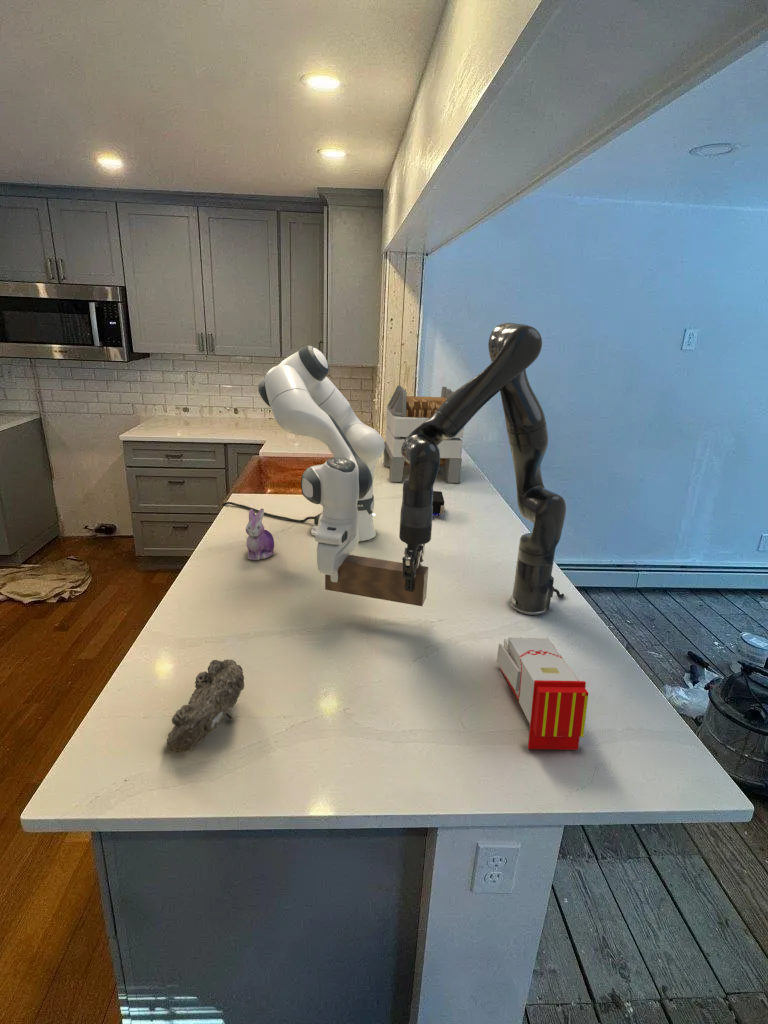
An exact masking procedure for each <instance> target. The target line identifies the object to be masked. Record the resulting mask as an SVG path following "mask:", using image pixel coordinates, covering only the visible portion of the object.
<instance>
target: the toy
mask: <svg viewBox="0 0 768 1024" xmlns="http://www.w3.org/2000/svg"><path fill="white" fill-rule="evenodd" d="M496 664H497V665H498V666H499V669H500V672H501V673H502V675H503V677H504V678H505V680H506V682H507V683H508V685H509V687H510V689H511V690H512V692H513V694H514V696H515V698H516V700H517V701H518V704H519V705H520V707H521V709H522V711H523V713H524V715H525V718H526V719H527V722H528V723H529V731H528V732H529V734H528V742H527V743H528V744H527V748H528V750H568V751H569V750H571V751H572V750H573V751H574V750H576V751H578V750H579V745H580V738H584V735H585V727H586V719H587V709H588V703H589V702H588V701H589V692H588V690H587V689H586V686H587V682H586V681H585V680H580V679H579V677H578V676H577V675H576V673H575V672H574V670H572V668H571V667H570V666H569V664H568V663H567V662H566V660H565V659H564V657H563V656H562V655H561V653H560V651H558V649H557V648H556V646H555V644H554V643H552V641H551V640H550V638H549V637H508V638H504V639H503V644H502V643H498V648H497V654H496Z"/></svg>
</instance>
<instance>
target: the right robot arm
mask: <svg viewBox="0 0 768 1024" xmlns="http://www.w3.org/2000/svg"><path fill="white" fill-rule="evenodd" d="M487 345H488V355H489V359H490V361H491V362H490V364H488V366H487V367H486V368H484V369H483V370H482V371H481V372H480V373H478V374H476V376H474V377H473V378H471V379H470V380H468V381H467V382H465V383H464V384H463V385H461V386H459V388H457V389H456V390H454V393H452V394H451V395H450V396H449V397H448V398H447V399H446V401H445V402H444V403H443V404H442V405H441V406H440V407H439V408H438V410H437V411H436V412H435V413H434V414H433V416H432V417H431V418H429V419H428V420H426V421H425V422H423V423H422V424H421V425H420V426H419V427H417V428H416V429H415V430H414V431H412V432H411V433H410V434H409V435H408V436H407V438H406V439H405V440H404V442H403V444H402V447H401V454H402V457H403V458H404V460H405V461H406V462H408V463H409V464H410V466H409V473H408V477H407V478H405V479H404V481H403V483H402V484H403V485H402V496H401V497H402V500H401V507H400V517H399V535H398V537H399V539H400V541H401V542H402V543H405V544H406V547H405V548H404V552H403V554H404V556H402V563H403V578H406V579H405V590H406V591H409V592H413V591H414V589H415V577H416V569H417V568H419V565H420V566H423V565H422V563H424V555H425V545H426V544H429V543H430V542H431V540H432V529H433V518H434V517H433V516H434V515H433V509H432V502H433V491H434V485H435V483H436V480H437V476H438V472H439V465H440V452H439V448H438V446H437V445H439V444H440V443H441V442H442V441H443V440H447V439H452V438H454V437H455V436H456V435H457V434H458V433H459V431H461V430H462V429H463V427H464V428H465V426H466V425H467V424H468V423H469V422H470V421H471V420H472V419H473V418H474V416H475V415H476V414H477V413H478V412H479V411H480V410H481V409H482V408H483V407H484V406H485V405H486V404H487V403H488V402H490V400H491V399H493V398H494V397H495V396H496V395H497V394H498V393H499V394H500V399H501V404H502V410H503V415H504V420H505V425H506V426H505V427H506V433H507V438H508V443H509V447H510V452H511V457H512V463H513V469H514V474H515V484H516V485H515V486H516V500H517V507H518V511H519V513H520V515H521V516H522V517H523V519H525V520H527V521H528V522H531V523H532V524H533V526H532V531H531V532H527V533H524V534H522V535H521V536H520V538H519V543H518V552H517V560H516V566H515V574H514V580H513V581H514V582H513V588H512V595H510V606H511V607H512V609H513V610H515V611H516V612H519V613H521V614H524V615H530V616H538V615H542V614H544V613H546V612H547V611H549V610H550V608H551V607H550V606H551V599H552V598H553V596H554V593H555V594H556V596H557V598H564V597H565V594H564V593H561V592H560V591H559V589H557V588H556V587H555V586H554V583H555V582H554V581H555V577H554V576H553V575H552V574H553V568H554V560H555V554H556V549H557V546H558V545H559V542H560V541H561V538H562V533H563V528H564V524H565V519H566V513H567V503H566V500H565V498H564V497H563V496H561V495H560V494H558V493H557V492H556V493H555V492H554V491H551V490H549V489H547V488H546V487H545V485H544V481H543V477H542V468H541V467H542V462H543V460H544V457H545V455H546V452H547V449H548V446H549V432H548V426H547V420H546V416H545V412H544V410H543V407H542V405H541V403H540V401H539V399H538V398H537V396H536V394H535V392H534V390H533V388H532V386H531V384H530V382H529V378H528V373H527V369H528V368H529V367H531V365H532V364H534V363H535V361H536V360H537V359H538V358H539V356H540V353H541V352H542V347H543V339H542V335H541V333H540V332H539V330H537V328H535V327H533V326H531V325H529V324H525V323H524V324H523V323H518V322H517V323H515V322H502V323H499V324H498V325H496V326H495V327H493V330H492V331H491V333H490V335H489V338H488V344H487ZM432 517H433V518H432ZM408 571H410V572H411V573H410V572H408Z"/></svg>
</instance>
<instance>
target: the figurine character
mask: <svg viewBox="0 0 768 1024" xmlns="http://www.w3.org/2000/svg"><path fill="white" fill-rule="evenodd" d="M432 509H433V516H437V518H438V519H441V515H445V499H444V495H443V491H439V490H433V502H432ZM433 518H434V517H432V519H433Z"/></svg>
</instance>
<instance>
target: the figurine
mask: <svg viewBox="0 0 768 1024" xmlns="http://www.w3.org/2000/svg"><path fill="white" fill-rule="evenodd" d="M258 510H259V512H256V513H255V511H253V510H252V509H251V510H250V509H249V510H248V522H247V524H246V526H245V533H246V534H247V538H246V542H245V543H246V548H247V550H248V551H247V559H248V560H252V561H259V560H265V559H267V558H270V557H272V556H273V555H274V552H275V551H274V550H275V540H274V536H273V534H272V533H271V532H270V531H269V530H268V529H265V526H264V523H263V519H264V516H265V515H264V512H265V509H264V508H260V509H258Z"/></svg>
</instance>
